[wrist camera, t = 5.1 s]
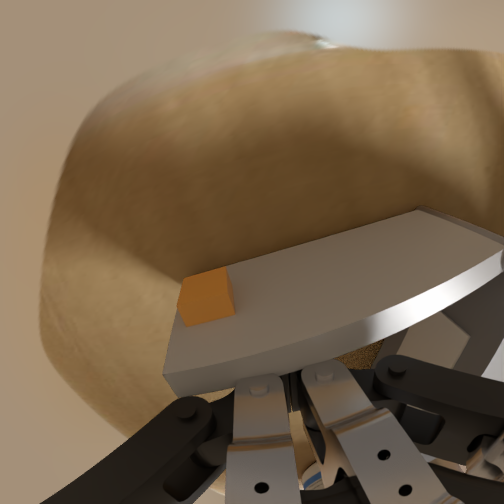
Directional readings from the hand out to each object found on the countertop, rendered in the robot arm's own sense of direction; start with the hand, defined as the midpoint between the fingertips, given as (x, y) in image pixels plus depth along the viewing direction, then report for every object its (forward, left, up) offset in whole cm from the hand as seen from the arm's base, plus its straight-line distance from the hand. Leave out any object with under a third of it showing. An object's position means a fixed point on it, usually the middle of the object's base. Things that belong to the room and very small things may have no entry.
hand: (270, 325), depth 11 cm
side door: (+3, -2, -2) cm, 5 cm away
